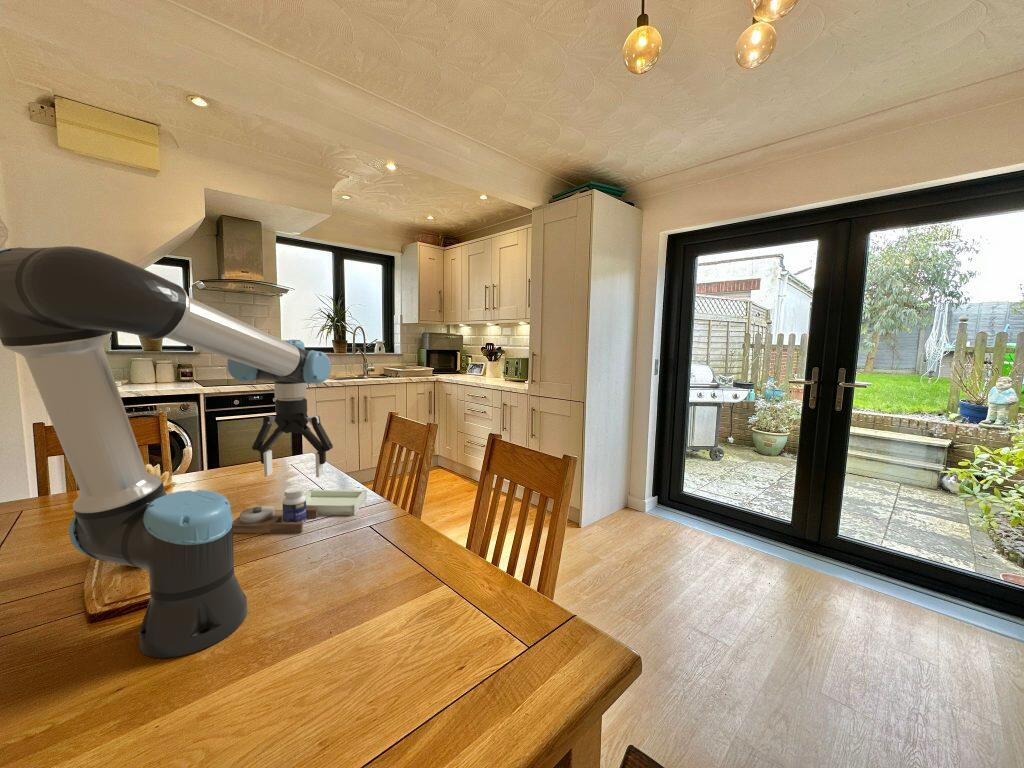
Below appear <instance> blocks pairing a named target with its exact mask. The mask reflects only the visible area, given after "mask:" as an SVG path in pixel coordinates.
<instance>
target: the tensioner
mask: <svg viewBox="0 0 1024 768" xmlns="http://www.w3.org/2000/svg"><path fill="white" fill-rule="evenodd" d="M318 517H319V515H318V510H317V508H306V519H317V518H318ZM303 532H304V525H303V522H283V509H275V508H274V507H273V506H272V505H271V506H269V505H258V506H253V507H249V508H247V509H245V510H242V511H240V513H239V516H238V517H237V518H235V519H233V534H236V533H237V534H244V533H245V534H302V533H303Z"/></svg>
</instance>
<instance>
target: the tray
mask: <svg viewBox="0 0 1024 768" xmlns="http://www.w3.org/2000/svg"><path fill="white" fill-rule="evenodd" d="M303 495H304V496H305V497H306V508H317V510H318V516H342V517H343V516H348V517H349V516H353V517H354V516H355V515H356V512H357V513H358V511H359V510H360V509H361V508H360V507H362V506H363V505H364V504H365V503H364V502H367V500H366V499H368V490H355V489H354V490H351V489H350V490H348V489H346V490H344V489H343V490H342V489H340V490H339V489H336V490H335V489H309V490H307V491H306V492H304V494H303ZM363 503H364V504H363ZM362 504H363V505H362ZM359 508H360V509H359Z"/></svg>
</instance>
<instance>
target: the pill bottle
mask: <svg viewBox="0 0 1024 768" xmlns="http://www.w3.org/2000/svg"><path fill="white" fill-rule="evenodd" d="M304 494H305V490H304V487H300V486H298V487H297V486H296V487H290V488H287V489H285V490H284V494H283V495H284V496H285V497H284V498H283V500H282V510H283V522H303V526H304V525H305V524H307V518H306V497H305V496H304Z"/></svg>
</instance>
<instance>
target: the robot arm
mask: <svg viewBox="0 0 1024 768" xmlns="http://www.w3.org/2000/svg"><path fill="white" fill-rule="evenodd" d="M112 332H118V333H119V332H120V333H124V334H125V333H126V334H131V335H136V336H139V337H143V338H145V339H148V340H152V341H157V340H162V339H165V338H166V339H169V340H172V341H175V342H177V343H180V344H184V345H187V346H190V347H193V348H196V349H199V350H202V351H204V352H207V353H211V354H213V355H216V356H219V357H223V358H226V359H227V362H226V363H227V371H228V373H229V375H230V377H232V378H233V379H234V380H236V381H238V382H242V383H243V382H244V383H245V382H250V383H252V382H254V381H255V382H256V381H265V382H266V381H267V382H273V383H274V384H273V385H274V387H273V388H274V389H273V390H274V398H275V401H274V407H275V408H274V409H275V416H273V414H268V415H266V416H264V417H263V419H262V426H261V428H260V430H259V432H258V434H257V436H256V438H255V440H254V442H253V445H252V446H251V449H252V450H253V451H258V452H259V455H260V463H261V464H263V472H264V473H263V474H264V477H265V478H266V477H269V476H271V475H272V474H273V473H274V470H273V468H274V466H273V450H272V449H271V447H272V446H273V445H274V443H275V442H276V441H277V439H279V438H280V437H281V435H282V434H283V433H284V434H290V433H291V434H298V433H299V434H300V436H303V437H304V438H305V439H306V441H308V442H309V444H310V445H311V446H312V447H313V448H314V449H315V450H316V453H315V455H314V456H315V478H320V477H321V476H322V475H323V474H324V465H325V464H326V462H327V452H329V451H330V450H332V449H333V448H334V445H333V443H332V441H331V440H330V438H329V436H328V433H327V432H326V431H325V428H324V427H323V425H322V423H321V422H322V421H321V417H320V415H315V416H308V399H307V398H306V397H307V396H308V395H307V394H308V393H307V384H308V385H311V384H321V383H324V382H325V381H326V380H328V378H329V375H330V373H331V368H332V366H331V360H330V358H329V356H328V355H327V354H326V353H325V352H323V351H320V350H319V351H318V350H313V349H311V350H306V349H305V343H304V342H303V341H302V340H298V339H297V340H292V339H280V338H279V337H276V336H274V335H272V334H269V333H268V332H265V331H263V330H262V329H259V328H257V327H255V326H253V325H250V324H248V323H245V322H244V321H242V320H239V319H237V318H236V317H232V316H230V315H229V314H227V313H224V312H222V311H220V310H218V309H216V308H213V307H212V306H209V305H207V304H205V303H202V302H201V301H198V300H196V299H193V298H192V297H189V296H188V293H187V291H186V290H185V289H184V288H183V287H182V286H180V285H179V284H177V283H175V282H172V281H171V280H168V279H166V278H164V277H162V276H160V275H157V274H155V273H153V272H151V271H149V270H146V269H144V268H142V267H141V266H137V265H136V264H134V263H131V262H129V261H126V260H124V259H121V258H119V257H117V256H113V255H111V254H109V253H105V252H102V251H99V250H95V249H91V248H86V247H80V246H67V245H66V246H54V247H53V246H52V247H48V246H47V247H21V246H19V247H18V246H17V247H8V248H7V247H6V248H4V249H0V342H1V345H2V347H3V348H5V349H7V350H9V351H11V352H14V353H17V354H19V355H21V356H23V358H24V359H25V361H26V364H27V366H28V369H29V371H30V373H31V375H32V378H33V381H34V383H35V386H36V388H37V390H38V392H39V393H38V394H39V395H40V397H41V400H42V403H43V405H44V407H45V410H46V413H47V414H48V416H49V417H48V418H49V419H50V421H51V424H52V426H53V429H54V432H55V434H56V436H57V439H58V440H59V441H58V442H59V443H60V445H61V448H62V450H63V453H64V455H65V457H66V460H67V462H68V465H69V467H70V470H71V471H72V474H73V476H74V479H75V481H76V484H77V486H78V489H79V491H80V494H79V495H78V496H77V498H75V499H74V501H73V503H72V509H73V512H74V513H73V515H74V517H73V519H72V520H70V522H69V526H68V537H69V539H70V543H71V544H72V545H73V547H74V548H75V549H76V550H77V551H78V552H79V553H81V554H83V555H85V556H87V557H90V558H91V559H95V560H96V561H101V562H110V563H115V564H119V565H125V566H130V567H133V568H134V567H136V568H140V569H145V570H147V571H148V579H149V581H148V582H149V592H150V598H149V602H148V604H147V608H146V611H145V614H144V616H143V619H142V622H141V625H140V628H139V632H138V641H139V649H140V651H141V652H142V653H143V654H144V655H145V656H148V657H150V658H154V659H155V658H156V659H171V658H179V657H181V656H186V655H189V654H194V653H196V652H199V651H201V650H203V649H206V648H209V647H211V646H213V645H215V644H217V643H219V642H220V641H222V640H224V639H226V638H227V637H228V636H230V635H231V634H232V633H234V632H235V631H236V630H237V629H239V627H240V626H241V625H242V624H243V623H244V622H245V620H246V618H247V616H248V599H247V596H246V595H245V593H244V592H243V590H242V587H241V584H240V583H239V580H238V578H237V576H236V573H235V565H234V564H235V559H234V556H235V555H234V533H233V521H234V517H233V514H232V509H231V503H230V501H229V499H228V498H227V497H226V496H225V495H223V494H222V493H218V492H216V491H212V490H203V489H202V490H200V489H198V490H195V491H194V490H193V491H192V490H182V491H176V492H171V493H167V491H166V488H165V485H164V483H163V481H162V480H163V479H162V478H161V476H160V475H157V474H154V473H150V472H148V471H147V467H146V465H145V462H144V459H143V457H142V456H143V455H142V454H141V450H140V448H139V445H138V442H137V440H136V439H137V438H136V437H135V434H134V431H133V428H132V425H131V422H130V420H129V417H128V414H127V411H126V408H125V406H124V402H123V400H122V397H121V394H120V391H119V388H118V385H117V382H116V380H115V376H114V374H113V371H112V368H111V365H110V363H109V360H108V357H107V353H106V351H105V349H104V344H105V343H106V341H108V339H109V338H110V337H111V336H112V334H113V333H112ZM274 423H275V424H276V425H277V427H276V428H275V429H274V430H273V433H272V434H271V435H270V436H269V437H268V438H267V436H268V434H269V432H270V430H271V427H272V425H273V424H274ZM308 423H309V424H310V425H311V426H312V428H313V431H314V432H315V434H314V433H313V432H312V430H311V428H310V427H309V426H308V425H307V424H308ZM316 435H317V436H316ZM266 438H267V439H266ZM265 440H266V441H265Z"/></svg>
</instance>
